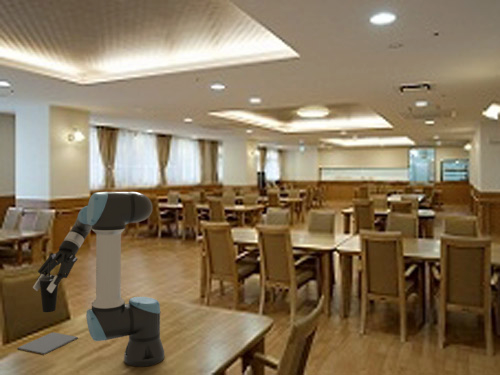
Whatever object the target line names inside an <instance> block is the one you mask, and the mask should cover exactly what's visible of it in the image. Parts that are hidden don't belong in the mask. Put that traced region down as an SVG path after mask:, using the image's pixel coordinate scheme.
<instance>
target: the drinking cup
mask: <svg viewBox="0 0 500 375" xmlns="http://www.w3.org/2000/svg"><path fill="white" fill-rule="evenodd" d="M55 276H56V274H51V272H50V263H48V274H47V275H46V276H43V277H41V278H39V281H40V295H41V296H40V297H41V307H42V312H43V313H51V312H55V311H56V309H57V308H56V307H57V297H58V289H59V288H58V287H59V284H58V285H56V287H55V289H54V290H53V292H52V293H50V292H49V291H48V290H47V288H48V286H49V285H50V283H51V282H52V281H53V278H54V277H55Z"/></svg>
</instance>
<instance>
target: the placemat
mask: <svg viewBox="0 0 500 375" xmlns="http://www.w3.org/2000/svg"><path fill="white" fill-rule="evenodd" d="M78 338H79V337H78V336H74V335H71V334H69V335H68V334H64V333H59V332H54V331H53V332H50V333H48V334H46V335H44V336H43V335H42V336H40V337H39V338H37V339H34V340H31V341H29V342H27V343H25V344H23V345H20V346H17V350H20V351H25V350H27V351H26V352H30V351H32V352H31V353H34V352H36V354H39V353H41V354H40V355H44V354H45V355H46V354H49V353H50V352H53V351H55V350H57V349H59V348H61V347H63V346H65V345H67V344H68V343H69V344H70V343H71V342H73V341H75V340H77V339H78Z"/></svg>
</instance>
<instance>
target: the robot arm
mask: <svg viewBox="0 0 500 375" xmlns="http://www.w3.org/2000/svg"><path fill="white" fill-rule="evenodd" d="M152 213H153V202H152V201H151V199H150V198H149V197H148V196H146V194H143V193H141V192H137V191H100V192H99V191H98V192H94V193H92V195H91V196H90V198H89V200H88V203H87V205H86V206H84V207H82V208H81V209H80V210H79V212H78V214H77V217H76V220H75V222H74V224H73V226H72V228H71V229H70V230H69V232H68V233H67V235H65V237H64V240H63V241H62V242H61V244H60V245H59V248H58V251H57V252H56V253H53V252H51V253H49V255H48V257H47V259H46V260H45V261H44V262H43V264H42V265H41V266H40V268H39V269H38V270H37V272H38V273H39V276H38V278H37V279H36V281H35V283H34V285H33V286H32V289H34V290H35V291H36V292H38V291H39V290H40V289H41V287H40V281H39V278H41V277H43V276H46V275H48V263H50V273H51V272H52V271H53V269H55V267H57V266H59V265H60V266H59V269H58V272H57V274H56V275H55V277H54V278H53V281H52V282H51V283H50V285H49V286H48V288H47V290H48V291H49V292H50V293H52V292H53V290H54V289H55V287H56V285H58V286H59V284H60V282H61V281H62V279H67V278H68V277H69V275H70V273H71V271H72V269H73V267H74V264H75V263H76V262H77V261H78V259H79V258H77V256H76V255H77V253H78V251H79V250H80V249H81V246H82V245H83V244H84V241H85V240H86V238H88V235H89V234H90V232H91V230H92V231H93V233H95V234H96V237H95V238H96V239H95V240H96V245H95V246H96V248H95V249H96V250H95V251H96V252H95V253H96V257H95V258H96V261H95V262H96V265H95V266H96V269H95V270H96V271H95V272H96V274H95V278H96V279H95V280H96V281H95V282H96V283H95V286H96V287H95V291H96V292H95V293H96V294H95V299H94V300H93V301H92V302H91V308H88V309H87V310H86V324H87V328H88V333H89V335H90V337H91V339H92V341H95V342H103V341H105V342H106V341H108V340H113V339H118V338H123V337H128V342H127V344H126V348H125V351H124V354H123V361H124V363H125V364H127V365H128V366H132V367H139V368H142V367H149V366H154V365H157V364H158V363H161V362H162V361H163V360H164V359H165V349H164V346H163V342H162V339H161V305H160V304H161V303H160V302H159V301H158V300H157V299H156V298H154V297H153V298H152V297H147V296H134V297H130V298H129V300H128V303H125V302H126V300H125V299H123V297H121V294H122V293H121V292H122V287H121V286H122V277H121V276H122V261H121V260H122V233H123V232H124V231H125V230H126V225H127V224H132V223H140V222H142V221H145V220H148V218H149V217H150V216H151V214H152Z"/></svg>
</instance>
